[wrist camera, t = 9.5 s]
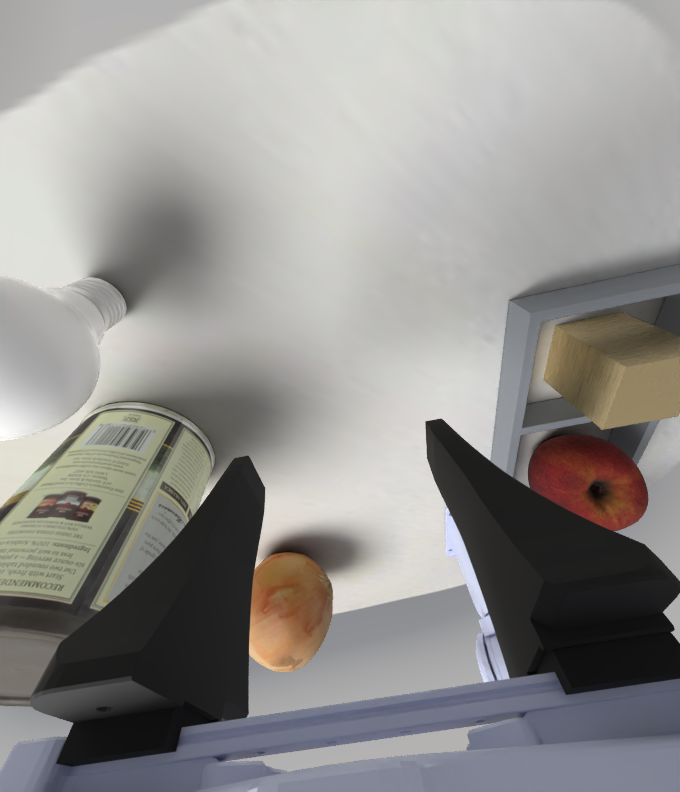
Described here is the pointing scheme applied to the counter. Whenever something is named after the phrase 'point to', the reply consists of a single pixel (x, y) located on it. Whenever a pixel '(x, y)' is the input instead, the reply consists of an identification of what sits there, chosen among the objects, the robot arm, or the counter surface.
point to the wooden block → (616, 369)
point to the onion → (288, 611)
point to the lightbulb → (50, 350)
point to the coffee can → (91, 528)
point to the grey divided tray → (521, 348)
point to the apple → (589, 480)
